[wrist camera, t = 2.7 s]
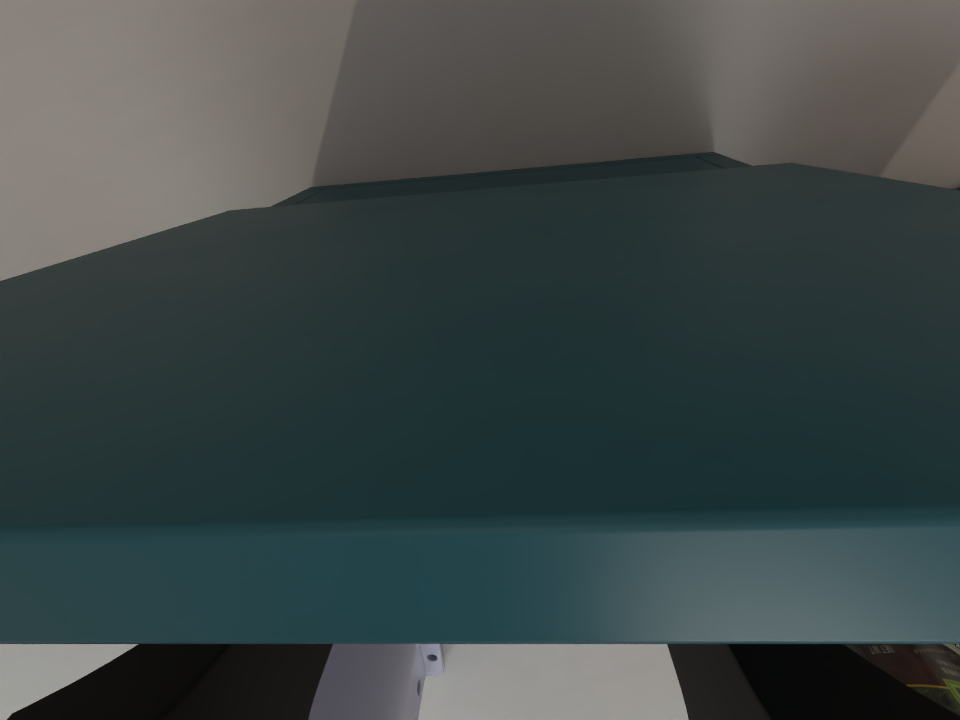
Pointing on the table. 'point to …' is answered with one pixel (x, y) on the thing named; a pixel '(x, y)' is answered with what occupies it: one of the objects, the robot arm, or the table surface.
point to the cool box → (514, 178)
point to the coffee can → (920, 668)
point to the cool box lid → (496, 420)
